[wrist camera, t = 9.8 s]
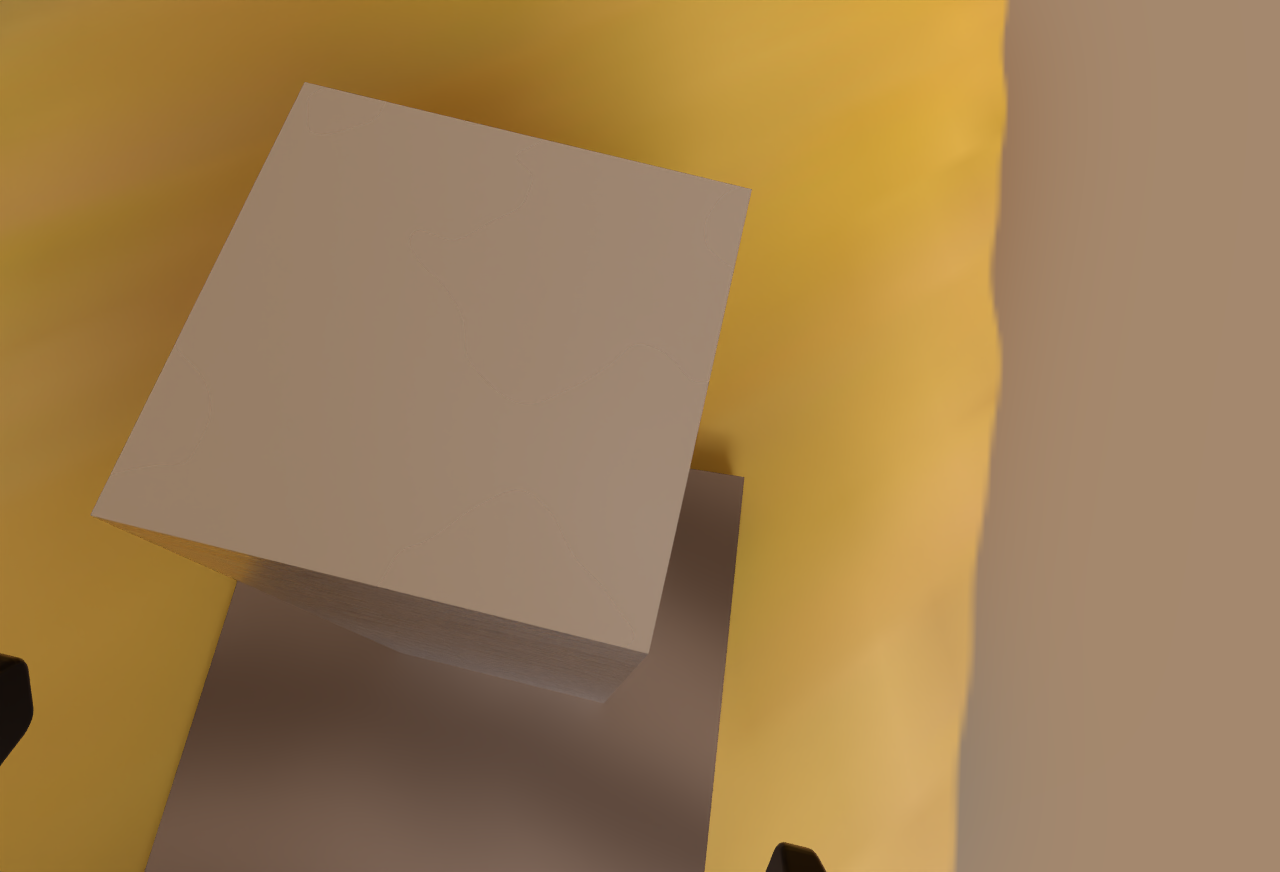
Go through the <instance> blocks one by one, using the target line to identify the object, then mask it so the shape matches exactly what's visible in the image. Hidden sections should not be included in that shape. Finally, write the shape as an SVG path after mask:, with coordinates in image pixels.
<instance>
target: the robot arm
mask: <svg viewBox="0 0 1280 872" xmlns="http://www.w3.org/2000/svg"><path fill="white" fill-rule="evenodd" d="M32 717H33V701H32V693H31V686H30V678H29V670H28V666H27V664H26V663H25V662H24V660H22V659H20V658H18V657H13V656H9V655H5V654H1V653H0V765H1V764H2V763H3V761H4V760H5V759H6V758H7V756H8V755H9V754H10V752H11V751H12V750H13V748H14V747H15V746H16V744H17V743H18V742H19V741H20V739H21V738H22V737H23V735H24V734H25V732H26V731H27V729H28V727H29V725H30V723H31V720H32ZM766 872H826V870H825V869H824V867H823V865H822V863H821V861H820V859H819V858H818V856H817V854H816V853H815V852H814V851H813V850H811V849H809V848H806V847H802V846H798V845H794V844H790V843H785V842H782V843H779V844H778V845H777V847H776V848H775V850H774V852H773V855H772V857H771V860H770V862H769V865H768V867H767V870H766Z"/></svg>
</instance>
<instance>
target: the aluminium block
mask: <svg viewBox="0 0 1280 872" xmlns="http://www.w3.org/2000/svg"><path fill="white" fill-rule="evenodd" d="M751 190H752V189H748V188H744V187H740V186H736V185H731V184H727V183H723V182H719V181H715V180H711V179H706V178H702V177H698V176H694V175H690V174H686V173H682V172H677V171H673V170H669V169H665V168H661V167H657V166H652V165H648V164H644V163H640V162H636V161H632V160H627V159H623V158H619V157H615V156H611V155H607V154H602V153H598V152H594V151H590V150H586V149H582V148H577V147H573V146H569V145H565V144H561V143H557V142H552V141H548V140H544V139H540V138H536V137H532V136H527V135H523V134H519V133H515V132H511V131H507V130H502V129H498V128H494V127H490V126H486V125H482V124H477V123H473V122H469V121H465V120H461V119H457V118H452V117H448V116H444V115H440V114H436V113H432V112H427V111H423V110H419V109H415V108H411V107H407V106H402V105H398V104H394V103H390V102H386V101H382V100H377V99H373V98H369V97H365V96H361V95H357V94H352V93H348V92H344V91H340V90H336V89H332V88H327V87H323V86H319V85H315V84H311V83H307V82H304V84H303V86H302V88H301V91H300V93H299V95H298V97H297V99H296V101H295V103H294V105H293V107H292V109H291V111H290V113H289V115H288V117H287V119H286V121H285V123H284V125H283V127H282V129H281V131H280V133H279V135H278V137H277V139H276V141H275V143H274V145H273V147H272V149H271V151H270V153H269V155H268V157H267V159H266V161H265V163H264V165H263V167H262V169H261V171H260V173H259V175H258V177H257V179H256V181H255V183H254V185H253V188H252V190H251V192H250V194H249V196H248V198H247V200H246V202H245V204H244V206H243V208H242V210H241V212H240V214H239V216H238V218H237V220H236V222H235V224H234V226H233V228H232V230H231V232H230V234H229V236H228V238H227V240H226V242H225V244H224V246H223V248H222V250H221V252H220V254H219V256H218V258H217V260H216V262H215V264H214V266H213V268H212V270H211V272H210V274H209V276H208V278H207V280H206V283H205V285H204V287H203V289H202V291H201V293H200V295H199V297H198V299H197V301H196V303H195V305H194V307H193V309H192V311H191V313H190V315H189V317H188V319H187V321H186V323H185V325H184V327H183V329H182V331H181V333H180V335H179V337H178V339H177V341H176V343H175V345H174V347H173V349H172V351H171V353H170V355H169V357H168V359H167V361H166V363H165V365H164V367H163V369H162V371H161V373H160V375H159V377H158V380H157V382H156V384H155V386H154V388H153V390H152V392H151V394H150V396H149V398H148V400H147V402H146V404H145V406H144V408H143V410H142V412H141V414H140V416H139V418H138V420H137V422H136V424H135V426H134V428H133V430H132V432H131V434H130V436H129V438H128V440H127V442H126V444H125V446H124V448H123V450H122V452H121V454H120V456H119V458H118V460H117V462H116V464H115V466H114V468H113V470H112V472H111V475H110V477H109V479H108V481H107V483H106V485H105V487H104V489H103V491H102V493H101V495H100V497H99V499H98V501H97V503H96V505H95V507H94V509H93V511H92V513H91V516H93V517H95V518H98V519H100V520H102V521H104V522H107V523H109V524H111V525H113V526H116V527H118V528H120V529H122V530H125V531H127V532H129V533H131V534H134V535H136V536H138V537H140V538H143V539H145V540H147V541H149V542H152V543H154V544H156V545H158V546H161V547H163V548H165V549H168V550H170V551H172V552H174V553H177V554H179V555H181V556H183V557H186V558H188V559H190V560H192V561H195V562H197V563H199V564H201V565H204V566H206V567H208V568H210V569H213V570H215V571H217V572H219V573H222V574H224V575H226V576H228V577H231V578H233V579H235V580H238V581H240V582H242V583H244V584H247V585H249V586H251V587H253V588H256V589H258V590H260V591H262V592H265V593H267V594H269V595H271V596H274V597H276V598H278V599H280V600H283V601H285V602H287V603H289V604H292V605H294V606H296V607H298V608H301V609H303V610H305V611H308V612H310V613H312V614H314V615H317V616H319V617H321V618H323V619H326V620H328V621H330V622H332V623H335V624H337V625H339V626H341V627H344V628H346V629H348V630H350V631H353V632H355V633H357V634H359V635H362V636H364V637H366V638H368V639H371V640H373V641H375V642H378V643H380V644H382V645H384V646H387V647H389V648H391V649H393V650H396V651H398V652H400V653H404V654H408V655H412V656H416V657H420V658H424V659H428V660H432V661H436V662H440V663H444V664H448V665H452V666H456V667H460V668H464V669H468V670H472V671H476V672H480V673H484V674H488V675H492V676H496V677H501V678H505V679H509V680H513V681H517V682H521V683H525V684H529V685H533V686H537V687H541V688H545V689H549V690H553V691H557V692H561V693H565V694H569V695H573V696H577V697H581V698H585V699H589V700H593V701H597V702H601V703H604V702H605V701H606V700H607V699H608V698H609V697H610V696H611V695H612V694H613V692H614V691H615V690H616V689H617V688H618V687H619V686H620V685H621V684H622V683H623V681H624V680H625V679H626V678H627V677H628V676H629V675H630V674H631V673H632V671H633V670H634V669H635V668H636V667H637V666H638V665H639V664H640V663H641V662H642V660H643V659H644V658H645V657H646V656H647V655H648V654H649V649H650V645H651V640H652V636H653V631H654V627H655V622H656V618H657V613H658V609H659V604H660V600H661V595H662V591H663V586H664V582H665V577H666V573H667V568H668V564H669V559H670V555H671V550H672V546H673V541H674V537H675V532H676V528H677V523H678V519H679V514H680V510H681V505H682V501H683V496H684V492H685V487H686V483H687V478H688V474H689V469H690V465H691V460H692V456H693V451H694V447H695V442H696V438H697V433H698V429H699V424H700V420H701V415H702V411H703V406H704V402H705V397H706V393H707V388H708V384H709V379H710V375H711V370H712V366H713V361H714V357H715V352H716V348H717V343H718V339H719V334H720V330H721V325H722V321H723V316H724V312H725V307H726V303H727V298H728V294H729V289H730V285H731V280H732V276H733V271H734V267H735V262H736V258H737V253H738V249H739V244H740V240H741V235H742V231H743V226H744V222H745V217H746V213H747V208H748V204H749V199H750V195H751Z"/></svg>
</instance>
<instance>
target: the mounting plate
mask: <svg viewBox="0 0 1280 872" xmlns="http://www.w3.org/2000/svg"><path fill="white" fill-rule="evenodd" d="M743 485H744V477H739V476H733V475H727V474H720V473H714V472H708V471H701V470H695V469H689V474H688V478H687V483H686V487H685V492H684V496H683V501H682V505H681V510H680V514H679V519H678V523H677V528H676V532H675V537H674V541H673V546H672V550H671V555H670V559H669V564H668V568H667V573H666V577H665V582H664V586H663V591H662V595H661V600H660V604H659V609H658V613H657V618H656V622H655V627H654V631H653V636H652V640H651V645H650V649H649V654H648V655H647V656H646V657H645V658H644V659H643V660H642V662H641V663H640V664H639V665H638V666H637V667H636V668H635V669H634V670H633V671H632V673H631V674H630V675H629V676H628V677H627V678H626V679H625V680H624V681H623V683H622V684H621V685H620V686H619V687H618V688H617V689H616V690H615V691H614V692H613V694H612V695H611V696H610V697H609V698H608V699H607V700H606V701H605V702H604V703H601V702H597V701H593V700H589V699H585V698H581V697H577V696H573V695H569V694H565V693H561V692H557V691H553V690H549V689H545V688H541V687H537V686H533V685H529V684H525V683H521V682H517V681H513V680H509V679H505V678H501V677H496V676H492V675H488V674H484V673H480V672H476V671H472V670H468V669H464V668H460V667H456V666H452V665H448V664H444V663H440V662H436V661H432V660H428V659H424V658H420V657H416V656H412V655H408V654H404V653H400V652H398V651H396V650H393V649H391V648H389V647H387V646H384V645H382V644H380V643H378V642H375V641H373V640H371V639H368V638H366V637H364V636H362V635H359V634H357V633H355V632H353V631H350V630H348V629H346V628H344V627H341V626H339V625H337V624H335V623H332V622H330V621H328V620H326V619H323V618H321V617H319V616H317V615H314V614H312V613H310V612H308V611H305V610H303V609H301V608H298V607H296V606H294V605H292V604H289V603H287V602H285V601H283V600H280V599H278V598H276V597H274V596H271V595H269V594H267V593H265V592H262V591H260V590H258V589H256V588H253V587H251V586H249V585H247V584H244V583H242V582H240V581H237V584H236V587H235V591H234V594H233V597H232V600H231V603H230V606H229V609H228V612H227V616H226V619H225V622H224V625H223V628H222V631H221V634H220V637H219V641H218V644H217V647H216V650H215V653H214V656H213V659H212V662H211V666H210V669H209V672H208V675H207V678H206V681H205V684H204V687H203V691H202V694H201V697H200V700H199V703H198V706H197V709H196V712H195V716H194V719H193V722H192V725H191V728H190V731H189V734H188V737H187V741H186V744H185V747H184V750H183V753H182V756H181V759H180V762H179V766H178V769H177V772H176V775H175V778H174V781H173V784H172V787H171V791H170V794H169V797H168V800H167V803H166V806H165V809H164V812H163V816H162V819H161V822H160V825H159V828H158V831H157V834H156V837H155V841H154V844H153V847H152V850H151V853H150V856H149V859H148V862H147V866H146V869H145V872H704V871H705V861H706V851H707V841H708V831H709V821H710V811H711V801H712V791H713V782H714V772H715V762H716V752H717V742H718V732H719V722H720V712H721V702H722V692H723V683H724V673H725V663H726V653H727V643H728V633H729V623H730V613H731V603H732V594H733V584H734V574H735V564H736V554H737V544H738V534H739V524H740V514H741V504H742V495H743Z"/></svg>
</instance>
